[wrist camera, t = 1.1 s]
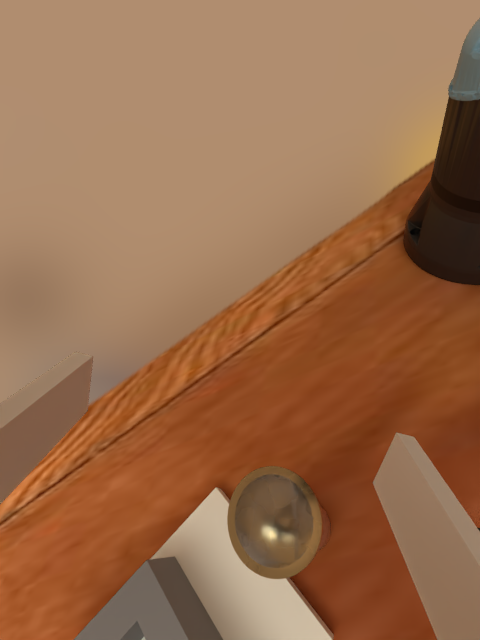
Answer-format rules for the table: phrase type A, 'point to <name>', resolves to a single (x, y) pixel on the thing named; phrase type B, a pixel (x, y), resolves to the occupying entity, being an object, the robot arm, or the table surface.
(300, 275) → the table surface
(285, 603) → the board
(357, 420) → the table surface
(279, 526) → the steel pin
